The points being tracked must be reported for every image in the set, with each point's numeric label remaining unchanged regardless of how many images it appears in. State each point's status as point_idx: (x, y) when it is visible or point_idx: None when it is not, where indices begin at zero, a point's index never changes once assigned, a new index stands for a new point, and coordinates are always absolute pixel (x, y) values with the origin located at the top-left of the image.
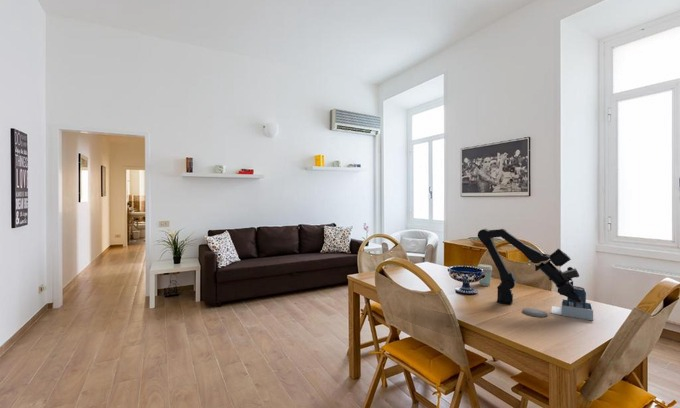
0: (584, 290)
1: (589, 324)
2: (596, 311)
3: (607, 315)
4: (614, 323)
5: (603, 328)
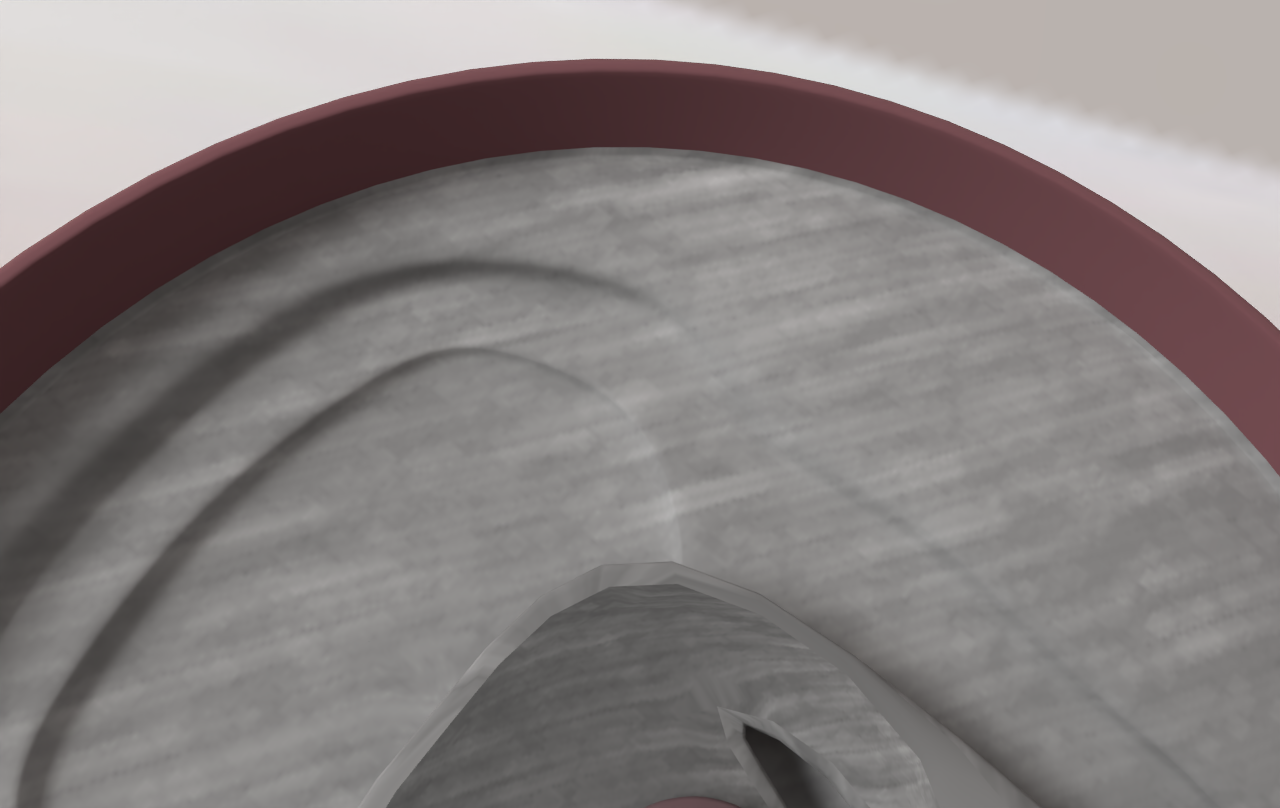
0: (760, 161)
1: None
2: (17, 242)
3: (273, 82)
4: (805, 66)
5: (1271, 283)
